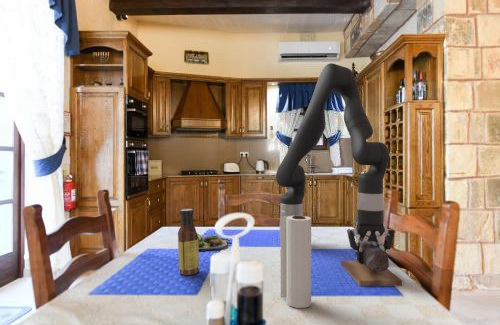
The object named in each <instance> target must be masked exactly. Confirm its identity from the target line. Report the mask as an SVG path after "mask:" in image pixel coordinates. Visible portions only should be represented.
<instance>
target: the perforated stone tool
mask: <svg viewBox="0 0 500 325" xmlns="http://www.w3.org/2000/svg"><path fill="white" fill-rule="evenodd" d="M385 251H386V250H385ZM385 251H384V250H382V249H381V248H379V247H378V246H376V245H373V244H370V243H366V245H365V246H364V249H363V251H362V252H364V253H363V263H364V264H365V265H366V266H367V267H368V268H371V269H372V270H373V271H382V272H384V271H386V270H387V269H388V268H389V265H390V263H389V262H390V261H389V255H388V254H387V252H385ZM388 270H389V269H388Z"/></svg>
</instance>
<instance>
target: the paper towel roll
mask: <svg viewBox="0 0 500 325" xmlns="http://www.w3.org/2000/svg"><path fill="white" fill-rule="evenodd" d="M280 298H281V299H282V298H284V299H285V298H286V303H287V305H288V306H290V307H293V308H297V309H305V308H308V307H310V306H311V305H312V218H311V217H310V216H306V215H305V216H304V215H303V216H281V244H280Z"/></svg>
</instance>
